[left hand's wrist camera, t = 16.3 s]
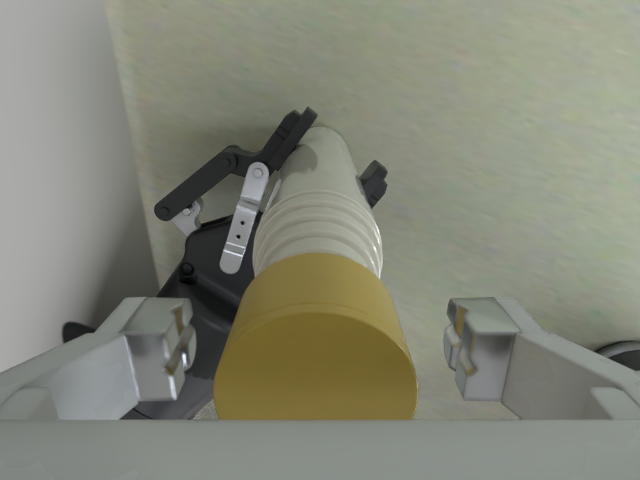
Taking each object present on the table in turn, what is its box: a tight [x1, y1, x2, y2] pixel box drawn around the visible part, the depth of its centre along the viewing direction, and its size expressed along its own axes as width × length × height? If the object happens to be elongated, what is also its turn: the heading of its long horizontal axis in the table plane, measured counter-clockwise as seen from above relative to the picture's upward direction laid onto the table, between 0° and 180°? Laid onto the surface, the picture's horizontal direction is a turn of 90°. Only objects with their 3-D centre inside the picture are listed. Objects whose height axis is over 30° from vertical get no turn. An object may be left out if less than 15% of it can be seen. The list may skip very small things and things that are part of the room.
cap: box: [213, 253, 419, 420], centre depth 9 cm, size 4×4×3 cm
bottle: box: [252, 127, 383, 279], centre depth 19 cm, size 4×4×24 cm
